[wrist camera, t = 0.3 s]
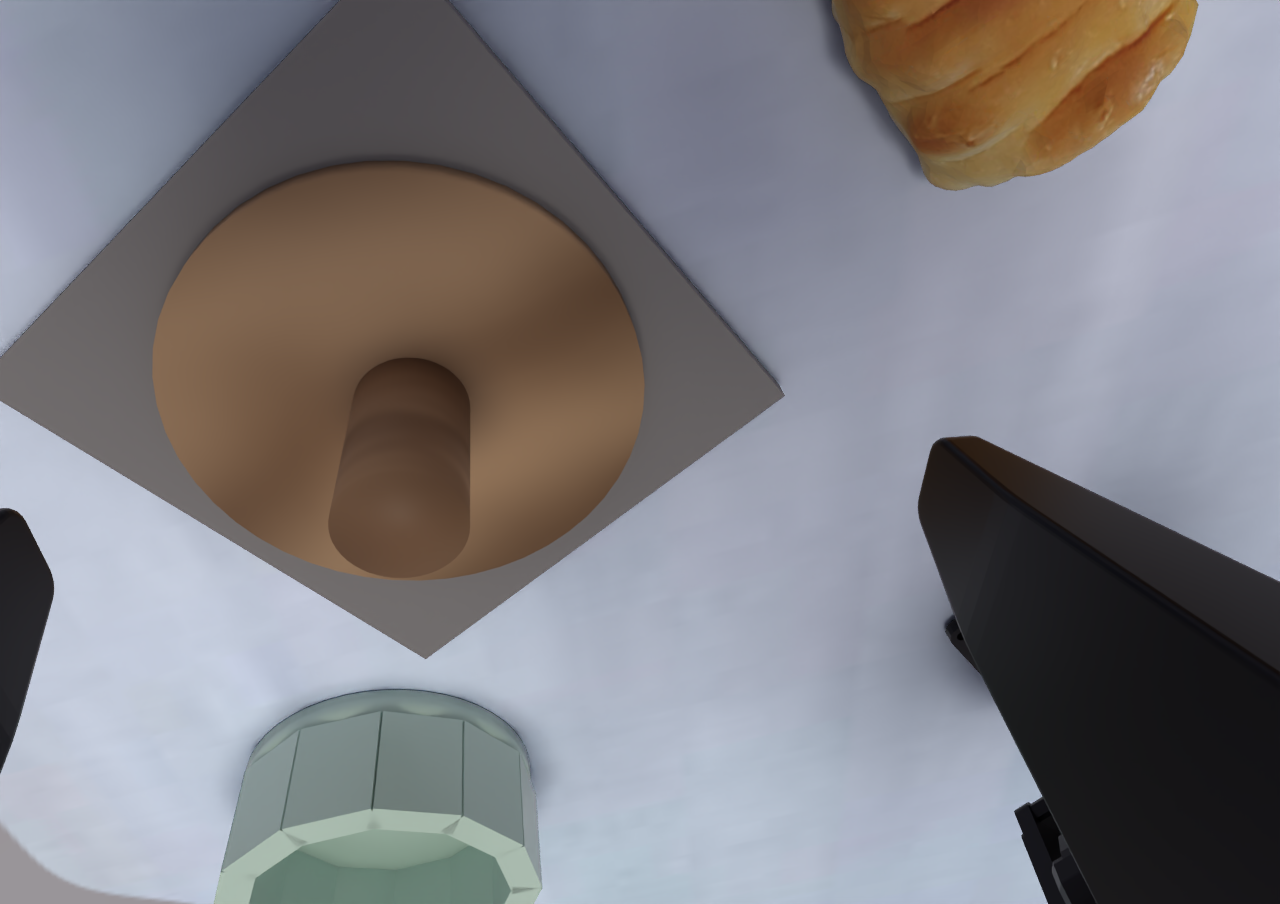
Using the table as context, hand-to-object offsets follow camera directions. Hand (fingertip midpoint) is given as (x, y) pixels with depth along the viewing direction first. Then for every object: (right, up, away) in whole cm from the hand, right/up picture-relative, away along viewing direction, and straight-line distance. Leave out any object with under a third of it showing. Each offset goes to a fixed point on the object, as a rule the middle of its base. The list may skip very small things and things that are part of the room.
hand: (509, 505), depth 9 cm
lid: (-4, +2, +13) cm, 14 cm away
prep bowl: (-8, -12, +23) cm, 27 cm away
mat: (-5, +2, +14) cm, 15 cm away
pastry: (+8, +11, +11) cm, 18 cm away
